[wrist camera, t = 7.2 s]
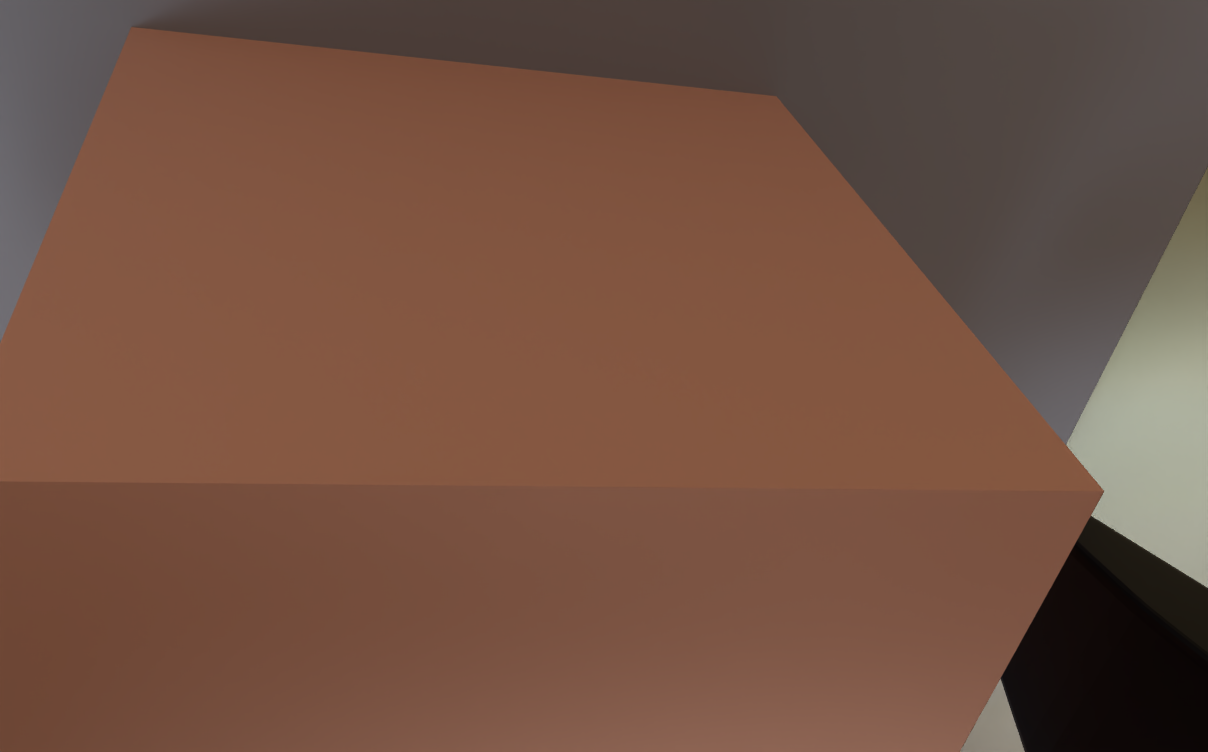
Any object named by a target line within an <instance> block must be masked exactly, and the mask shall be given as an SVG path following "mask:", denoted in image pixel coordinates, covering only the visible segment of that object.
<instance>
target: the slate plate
mask: <svg viewBox="0 0 1208 752" xmlns="http://www.w3.org/2000/svg"><path fill="white" fill-rule="evenodd" d="M131 27H136V28H146V29H155V30H164V31H173V32H183V33H192V34H201V35H211V36H220V37H229V38H239V39H248V40H257V41H267V42H276V43H285V44H295V45H304V46H313V47H323V48H332V49H341V50H351V51H360V52H369V53H378V54H388V55H397V56H406V57H416V58H425V59H434V60H444V61H453V62H462V63H472V64H481V65H490V66H500V67H509V68H518V69H528V70H537V71H546V72H556V73H565V74H574V75H584V76H593V77H602V78H611V79H621V80H630V81H639V82H649V83H658V84H667V85H677V86H686V87H695V88H705V89H714V90H723V91H733V92H742V93H751V94H761V95H770V96H777V98H778V99H779V100H780V101H781V102H782V104H783V105H784V106H785V107H786V108H787V110H788V111H789V112H790V113H791V114H792V116H793V117H794V118H795V119H796V120H797V122H798V123H799V124H800V125H801V126H802V128H803V129H804V130H805V131H806V133H807V134H808V135H809V136H810V137H811V139H812V140H813V141H814V142H815V143H816V145H817V146H818V147H819V148H820V149H821V151H822V152H823V153H824V154H825V155H826V157H827V158H828V159H829V160H830V161H831V163H832V164H833V165H834V166H835V167H836V169H837V170H838V171H839V172H840V174H841V175H842V176H843V177H844V178H845V180H846V181H847V182H848V183H849V184H850V186H851V187H852V188H853V189H854V190H855V192H856V193H857V194H858V195H859V196H860V198H861V199H862V200H863V201H864V202H865V204H866V205H867V206H868V207H869V208H870V210H871V211H872V212H873V213H874V215H875V216H876V217H877V218H878V219H879V221H880V222H881V223H882V224H883V225H884V227H885V228H886V229H887V230H888V231H889V233H890V234H891V235H892V236H893V237H894V239H895V240H896V241H897V242H898V243H899V245H900V246H901V247H902V248H903V249H904V251H905V252H906V253H907V254H908V255H909V257H910V258H911V259H912V260H913V262H914V263H915V264H916V265H917V266H918V268H919V269H920V270H921V271H922V272H923V274H924V275H925V276H926V277H927V278H928V280H929V281H930V282H931V283H932V284H933V286H934V287H935V288H936V289H937V290H938V292H939V293H940V294H941V295H942V296H943V298H944V299H945V300H946V301H947V303H948V304H949V305H950V306H951V307H952V309H953V310H954V311H955V312H956V313H957V315H958V316H959V317H960V318H961V319H962V321H963V322H964V323H965V324H966V325H967V327H968V328H969V329H970V330H971V331H972V333H973V334H974V335H975V336H976V337H977V339H978V340H979V341H980V342H981V343H982V345H983V346H984V347H985V348H986V350H987V351H988V352H989V353H990V354H991V356H992V357H993V358H994V359H995V360H996V362H997V363H998V364H999V365H1000V366H1001V368H1002V369H1003V370H1004V371H1005V372H1006V374H1007V375H1008V376H1009V377H1010V378H1011V380H1012V381H1013V382H1014V383H1015V384H1016V386H1017V387H1018V388H1019V389H1020V391H1021V392H1022V393H1023V394H1024V395H1025V397H1026V398H1027V399H1028V400H1029V401H1030V403H1031V404H1032V405H1033V406H1034V407H1035V409H1036V410H1037V411H1038V412H1039V413H1040V415H1041V416H1042V417H1043V418H1044V419H1045V421H1046V422H1047V423H1048V424H1049V425H1050V427H1051V428H1052V429H1053V430H1054V432H1055V433H1056V434H1057V435H1058V436H1059V438H1060V439H1061V440H1062V441H1063V442H1064V444H1065V445H1066V443H1067V441H1068V439H1069V437H1070V435H1071V433H1072V432H1073V430H1074V428H1075V426H1076V424H1077V422H1078V420H1079V418H1080V416H1081V414H1082V412H1083V410H1084V408H1085V406H1086V404H1087V402H1088V400H1089V398H1090V396H1091V394H1092V392H1093V390H1094V388H1095V386H1096V384H1097V383H1098V381H1099V379H1100V377H1101V375H1102V373H1103V371H1104V369H1105V367H1106V365H1107V363H1108V361H1109V359H1110V357H1111V355H1112V353H1113V351H1114V349H1115V347H1116V345H1117V343H1118V341H1119V339H1120V337H1121V336H1122V334H1123V332H1124V330H1125V328H1126V326H1127V324H1128V322H1129V320H1130V318H1131V316H1132V314H1133V312H1134V310H1135V308H1136V306H1137V304H1138V302H1139V300H1140V298H1141V296H1142V294H1143V292H1144V290H1145V288H1146V287H1147V285H1148V283H1149V281H1150V279H1151V277H1152V275H1153V273H1154V271H1155V269H1156V267H1157V265H1158V263H1159V261H1160V259H1161V257H1162V255H1163V253H1164V251H1165V249H1166V247H1167V245H1168V243H1169V241H1170V240H1171V238H1172V236H1173V234H1174V232H1175V230H1176V228H1177V226H1178V224H1179V222H1180V220H1181V218H1182V216H1183V214H1184V212H1185V210H1186V208H1187V206H1188V204H1189V202H1190V200H1191V198H1192V196H1193V194H1194V193H1195V191H1196V189H1197V187H1198V185H1199V183H1200V181H1201V179H1202V177H1203V175H1204V173H1205V171H1206V169H1207V167H1208V0H0V342H1V340H2V338H3V335H4V333H5V330H6V328H7V325H8V323H9V321H10V318H11V316H12V313H13V311H14V309H15V306H16V304H17V301H18V299H19V297H20V294H21V292H22V289H23V287H24V284H25V282H26V280H27V277H28V275H29V272H30V270H31V268H32V265H33V263H34V260H35V258H36V256H37V253H38V251H39V248H40V246H41V244H42V241H43V239H44V236H45V234H46V231H47V229H48V227H49V224H50V222H51V219H52V217H53V215H54V212H55V210H56V207H57V205H58V203H59V200H60V198H61V195H62V193H63V190H64V188H65V186H66V183H67V181H68V178H69V176H70V174H71V171H72V169H73V166H74V164H75V162H76V159H77V157H78V154H79V152H80V150H81V147H82V145H83V142H84V140H85V137H86V135H87V133H88V130H89V128H90V125H91V123H92V121H93V118H94V116H95V113H96V111H97V109H98V106H99V104H100V101H101V99H102V96H103V94H104V92H105V89H106V87H107V84H108V82H109V80H110V77H111V75H112V72H113V70H114V68H115V65H116V63H117V60H118V58H119V56H120V53H121V51H122V48H123V46H124V43H125V41H126V39H127V36H128V34H129V31H130V29H131Z"/></svg>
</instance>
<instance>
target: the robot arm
mask: <svg viewBox="0 0 1208 752" xmlns="http://www.w3.org/2000/svg"><path fill="white" fill-rule="evenodd" d="M1001 681H1002V684H1003V687H1004V690H1005V693H1006V696H1007V699H1008V702H1009V705H1010V708H1011V711H1012V714H1013V717H1014V720H1015V723H1016V726H1017V729H1018V732H1019V735H1020V739H1021V742H1022V745H1023V748H1024V750H1025V752H1208V588H1207V587H1205V586H1204V585H1202V584H1200V583H1199V582H1197V581H1196V580H1194V579H1192V578H1191V577H1189V576H1187V575H1186V574H1184V573H1183V572H1181V571H1179V570H1178V569H1176V568H1175V567H1173V566H1171V565H1170V564H1168V563H1166V562H1165V561H1163V560H1162V559H1160V558H1158V557H1157V556H1155V555H1153V554H1152V553H1150V552H1149V551H1147V550H1145V549H1144V548H1142V547H1141V546H1139V545H1137V544H1136V543H1134V542H1132V541H1131V540H1129V539H1128V538H1126V537H1124V536H1123V535H1121V534H1119V533H1118V532H1116V531H1115V530H1113V529H1111V528H1110V527H1108V526H1107V525H1105V524H1103V523H1102V522H1100V521H1098V520H1097V519H1095V518H1094V517H1092V516H1090V518H1089V520H1088V521H1087V523H1086V525H1085V527H1084V529H1083V530H1082V532H1081V534H1080V536H1079V538H1078V539H1077V541H1076V543H1075V545H1074V547H1073V548H1072V550H1071V552H1070V554H1069V556H1068V557H1067V559H1066V561H1065V563H1064V565H1063V566H1062V568H1061V570H1060V572H1059V574H1058V575H1057V577H1056V579H1055V581H1054V583H1053V584H1052V586H1051V588H1050V590H1049V592H1048V593H1047V595H1046V597H1045V599H1044V601H1043V602H1042V604H1041V606H1040V608H1039V610H1038V612H1037V613H1036V615H1035V617H1034V619H1033V621H1032V622H1031V624H1030V626H1029V628H1028V630H1027V631H1026V633H1025V635H1024V637H1023V639H1022V640H1021V642H1020V644H1019V646H1018V648H1017V649H1016V651H1015V653H1014V655H1013V657H1012V658H1011V660H1010V662H1009V664H1008V666H1007V667H1006V669H1005V671H1004V673H1003V675H1002V676H1001Z"/></svg>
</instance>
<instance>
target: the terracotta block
mask: <svg viewBox="0 0 1208 752" xmlns="http://www.w3.org/2000/svg"><path fill="white" fill-rule="evenodd" d="M1103 493H1104V491H1103V489H1102V488H1101V487H1100V486H1099V485H1098V483H1097V482H1096V481H1095V480H1094V479H1093V477H1092V476H1091V475H1090V474H1089V472H1088V471H1087V470H1086V469H1085V468H1084V466H1083V465H1082V464H1081V463H1080V462H1079V460H1078V459H1077V458H1076V457H1075V456H1074V454H1073V453H1072V452H1071V451H1070V450H1069V448H1068V447H1067V446H1066V445H1065V444H1064V442H1063V441H1062V440H1061V439H1060V438H1059V436H1058V435H1057V434H1056V433H1055V432H1054V430H1053V429H1052V428H1051V427H1050V425H1049V424H1048V423H1047V422H1046V421H1045V419H1044V418H1043V417H1042V416H1041V415H1040V413H1039V412H1038V411H1037V410H1036V409H1035V407H1034V406H1033V405H1032V404H1031V403H1030V401H1029V400H1028V399H1027V398H1026V397H1025V395H1024V394H1023V393H1022V392H1021V391H1020V389H1019V388H1018V387H1017V386H1016V384H1015V383H1014V382H1013V381H1012V380H1011V378H1010V377H1009V376H1008V375H1007V374H1006V372H1005V371H1004V370H1003V369H1002V368H1001V366H1000V365H999V364H998V363H997V362H996V360H995V359H994V358H993V357H992V356H991V354H990V353H989V352H988V351H987V350H986V348H985V347H984V346H983V345H982V343H981V342H980V341H979V340H978V339H977V337H976V336H975V335H974V334H973V333H972V331H971V330H970V329H969V328H968V327H967V325H966V324H965V323H964V322H963V321H962V319H961V318H960V317H959V316H958V315H957V313H956V312H955V311H954V310H953V309H952V307H951V306H950V305H949V304H948V303H947V301H946V300H945V299H944V298H943V296H942V295H941V294H940V293H939V292H938V290H937V289H936V288H935V287H934V286H933V284H932V283H931V282H930V281H929V280H928V278H927V277H926V276H925V275H924V274H923V272H922V271H921V270H920V269H919V268H918V266H917V265H916V264H915V263H914V262H913V260H912V259H911V258H910V257H909V255H908V254H907V253H906V252H905V251H904V249H903V248H902V247H901V246H900V245H899V243H898V242H897V241H896V240H895V239H894V237H893V236H892V235H891V234H890V233H889V231H888V230H887V229H886V228H885V227H884V225H883V224H882V223H881V222H880V221H879V219H878V218H877V217H876V216H875V215H874V213H873V212H872V211H871V210H870V208H869V207H868V206H867V205H866V204H865V202H864V201H863V200H862V199H861V198H860V196H859V195H858V194H857V193H856V192H855V190H854V189H853V188H852V187H851V186H850V184H849V183H848V182H847V181H846V180H845V178H844V177H843V176H842V175H841V174H840V172H839V171H838V170H837V169H836V167H835V166H834V165H833V164H832V163H831V161H830V160H829V159H828V158H827V157H826V155H825V154H824V153H823V152H822V151H821V149H820V148H819V147H818V146H817V145H816V143H815V142H814V141H813V140H812V139H811V137H810V136H809V135H808V134H807V133H806V131H805V130H804V129H803V128H802V126H801V125H800V124H799V123H798V122H797V120H796V119H795V118H794V117H793V116H792V114H791V113H790V112H789V111H788V110H787V108H786V107H785V106H784V105H783V104H782V102H781V101H780V100H779V99H778V98H777V96H770V95H761V94H751V93H742V92H733V91H723V90H714V89H705V88H695V87H686V86H677V85H667V84H658V83H649V82H639V81H630V80H621V79H611V78H602V77H593V76H584V75H574V74H565V73H556V72H546V71H537V70H528V69H518V68H509V67H500V66H490V65H481V64H472V63H462V62H453V61H444V60H434V59H425V58H416V57H406V56H397V55H388V54H378V53H369V52H360V51H351V50H341V49H332V48H323V47H313V46H304V45H295V44H285V43H276V42H267V41H257V40H248V39H239V38H229V37H220V36H211V35H201V34H192V33H183V32H173V31H164V30H155V29H146V28H136V27H131V29H130V31H129V34H128V36H127V39H126V41H125V43H124V46H123V48H122V51H121V53H120V56H119V58H118V60H117V63H116V65H115V68H114V70H113V72H112V75H111V77H110V80H109V82H108V84H107V87H106V89H105V92H104V94H103V96H102V99H101V101H100V104H99V106H98V109H97V111H96V113H95V116H94V118H93V121H92V123H91V125H90V128H89V130H88V133H87V135H86V137H85V140H84V142H83V145H82V147H81V150H80V152H79V154H78V157H77V159H76V162H75V164H74V166H73V169H72V171H71V174H70V176H69V178H68V181H67V183H66V186H65V188H64V190H63V193H62V195H61V198H60V200H59V203H58V205H57V207H56V210H55V212H54V215H53V217H52V219H51V222H50V224H49V227H48V229H47V231H46V234H45V236H44V239H43V241H42V244H41V246H40V248H39V251H38V253H37V256H36V258H35V260H34V263H33V265H32V268H31V270H30V272H29V275H28V277H27V280H26V282H25V284H24V287H23V289H22V292H21V294H20V297H19V299H18V301H17V304H16V306H15V309H14V311H13V313H12V316H11V318H10V321H9V323H8V325H7V328H6V330H5V333H4V335H3V338H2V340H1V342H0V752H960V750H961V748H962V747H963V745H964V743H965V741H966V739H967V738H968V736H969V734H970V732H971V730H972V729H973V727H974V725H975V723H976V721H977V720H978V718H979V716H980V714H981V712H982V711H983V709H984V707H985V705H986V703H987V702H988V700H989V698H990V696H991V694H992V693H993V691H994V689H995V687H996V685H997V684H998V682H999V680H1000V678H1001V676H1002V675H1003V673H1004V671H1005V669H1006V667H1007V666H1008V664H1009V662H1010V660H1011V658H1012V657H1013V655H1014V653H1015V651H1016V649H1017V648H1018V646H1019V644H1020V642H1021V640H1022V639H1023V637H1024V635H1025V633H1026V631H1027V630H1028V628H1029V626H1030V624H1031V622H1032V621H1033V619H1034V617H1035V615H1036V613H1037V612H1038V610H1039V608H1040V606H1041V604H1042V602H1043V601H1044V599H1045V597H1046V595H1047V593H1048V592H1049V590H1050V588H1051V586H1052V584H1053V583H1054V581H1055V579H1056V577H1057V575H1058V574H1059V572H1060V570H1061V568H1062V566H1063V565H1064V563H1065V561H1066V559H1067V557H1068V556H1069V554H1070V552H1071V550H1072V548H1073V547H1074V545H1075V543H1076V541H1077V539H1078V538H1079V536H1080V534H1081V532H1082V530H1083V529H1084V527H1085V525H1086V523H1087V521H1088V520H1089V518H1090V516H1091V514H1092V512H1093V511H1094V509H1095V507H1096V505H1097V503H1098V502H1099V500H1100V498H1101V496H1102V494H1103Z"/></svg>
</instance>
